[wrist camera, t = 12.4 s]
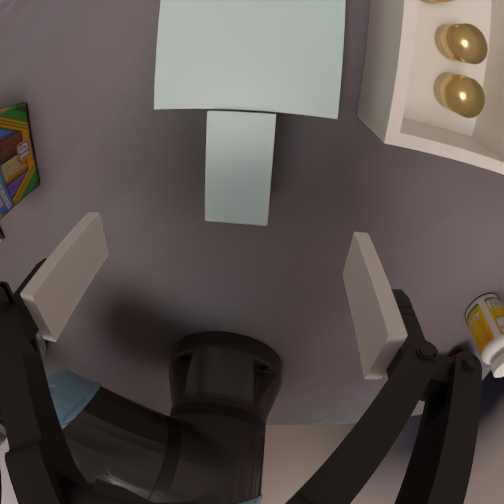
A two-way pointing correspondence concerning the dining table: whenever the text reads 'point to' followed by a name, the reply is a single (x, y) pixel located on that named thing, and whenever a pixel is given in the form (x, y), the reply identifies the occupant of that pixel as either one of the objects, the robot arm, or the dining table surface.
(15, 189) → the chalk box
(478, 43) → the brass parts
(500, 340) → the supplement bottle
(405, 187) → the dining table surface
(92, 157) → the dining table surface
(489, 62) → the tub
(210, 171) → the lid
